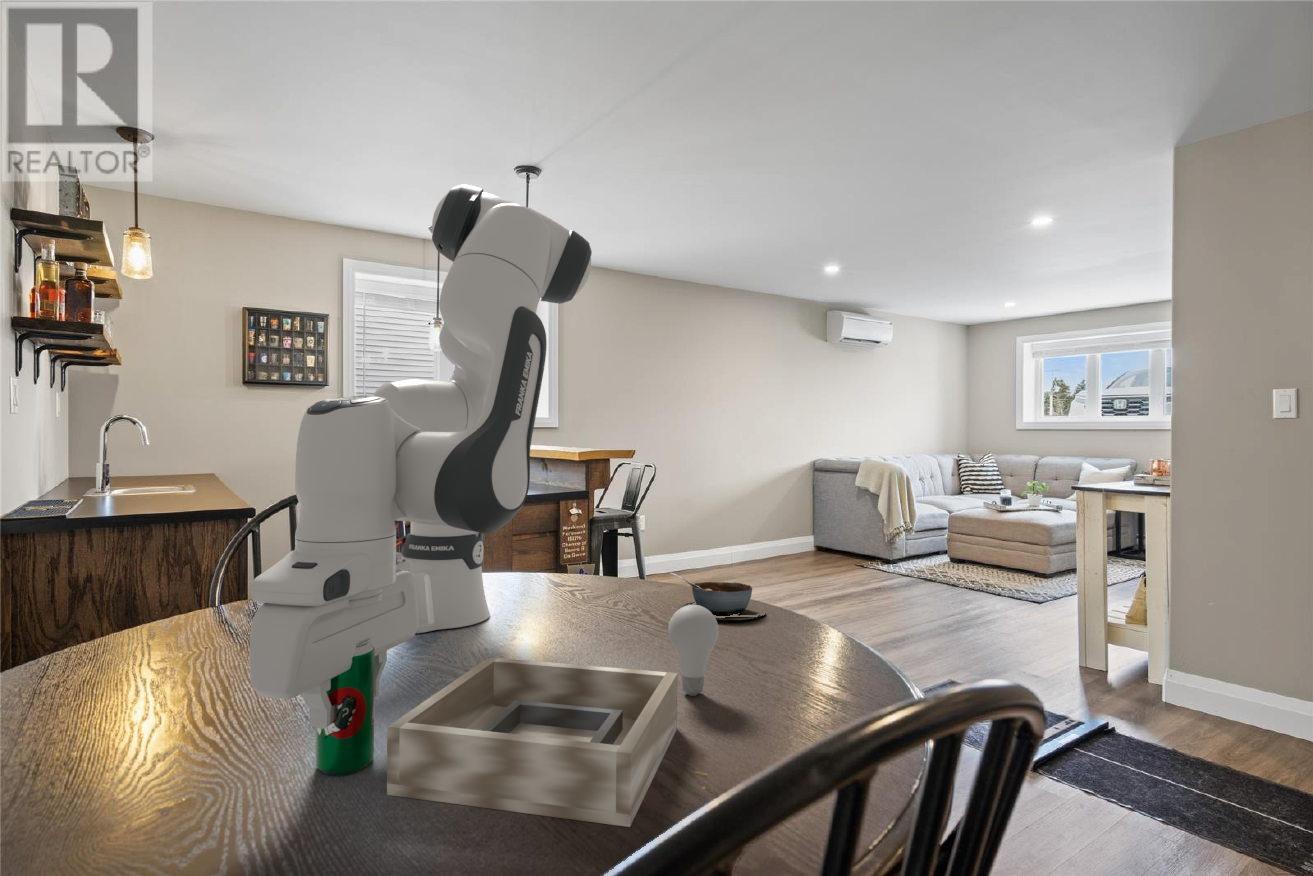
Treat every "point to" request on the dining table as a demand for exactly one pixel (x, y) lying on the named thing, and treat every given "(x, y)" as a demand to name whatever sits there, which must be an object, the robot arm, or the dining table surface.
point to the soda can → (350, 717)
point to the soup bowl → (722, 598)
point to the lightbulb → (693, 644)
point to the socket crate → (537, 740)
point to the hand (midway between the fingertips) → (346, 711)
